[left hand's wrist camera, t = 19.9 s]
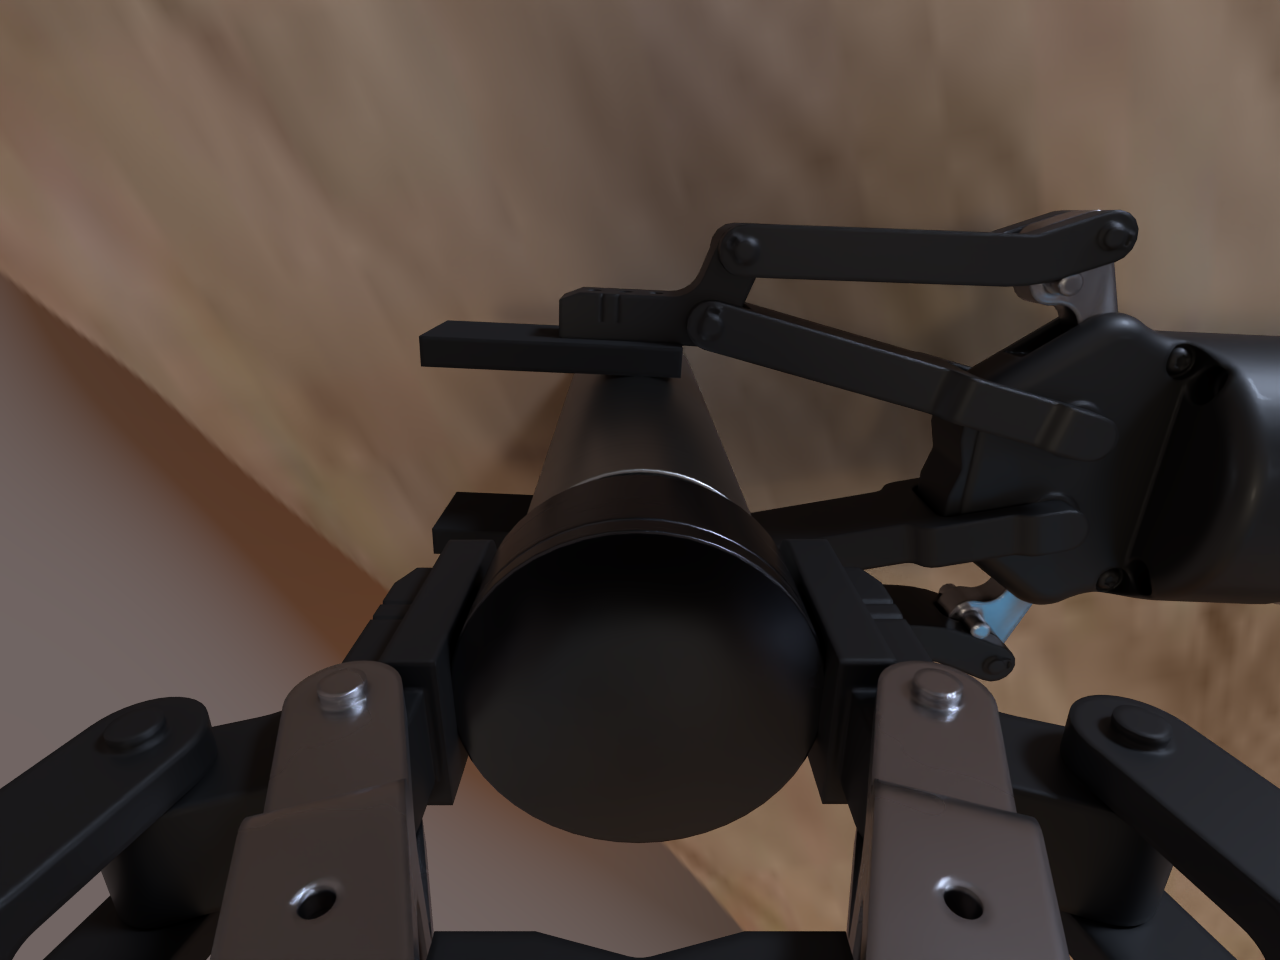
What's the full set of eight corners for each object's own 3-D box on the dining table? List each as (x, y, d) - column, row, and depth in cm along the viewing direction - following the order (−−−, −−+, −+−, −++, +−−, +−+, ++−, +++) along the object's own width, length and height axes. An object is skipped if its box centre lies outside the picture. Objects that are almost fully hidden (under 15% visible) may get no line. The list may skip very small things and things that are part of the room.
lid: (541, 422, 10) (519, 471, 8) (852, 542, 10) (898, 612, 9) (441, 692, 11) (404, 783, 10) (716, 779, 12) (730, 882, 10)
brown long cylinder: (654, 468, 27) (690, 808, 11) (550, 411, 26) (439, 697, 11) (717, 367, 25) (854, 603, 10) (610, 304, 24) (581, 455, 9)
